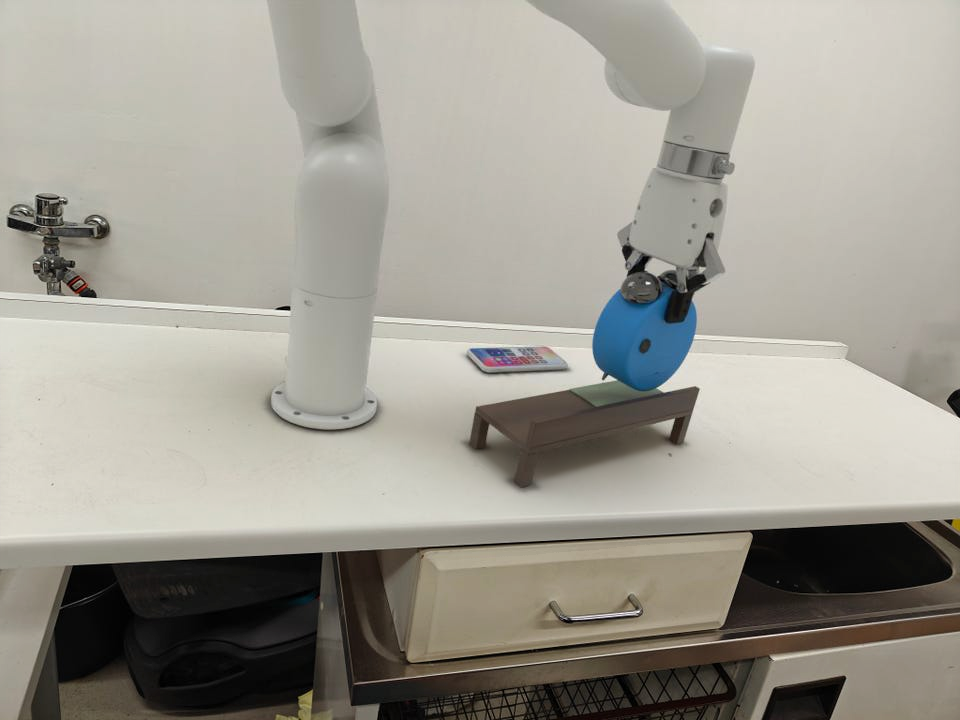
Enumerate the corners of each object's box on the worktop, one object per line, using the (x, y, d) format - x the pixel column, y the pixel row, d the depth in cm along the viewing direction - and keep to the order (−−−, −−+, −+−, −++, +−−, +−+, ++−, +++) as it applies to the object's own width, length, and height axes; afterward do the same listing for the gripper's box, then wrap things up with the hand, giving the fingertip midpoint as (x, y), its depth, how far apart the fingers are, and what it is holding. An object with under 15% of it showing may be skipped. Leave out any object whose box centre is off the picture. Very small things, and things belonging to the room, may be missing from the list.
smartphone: (571, 364, 111) (485, 368, 104) (570, 370, 112) (484, 374, 105) (547, 345, 117) (464, 347, 110) (546, 350, 118) (463, 353, 111)
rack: (468, 443, 85) (479, 383, 82) (628, 408, 102) (642, 357, 99) (521, 487, 78) (535, 423, 75) (683, 442, 95) (700, 388, 92)
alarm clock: (646, 367, 98) (675, 261, 93) (682, 386, 94) (715, 277, 89) (580, 380, 90) (607, 265, 85) (616, 402, 86) (648, 282, 80)
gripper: (776, 182, 78) (727, 335, 85) (655, 151, 90) (621, 287, 97) (735, 179, 73) (688, 341, 80) (614, 146, 86) (581, 290, 92)
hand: (652, 310), depth 88 cm, fingers closed on alarm clock, 6 cm apart
